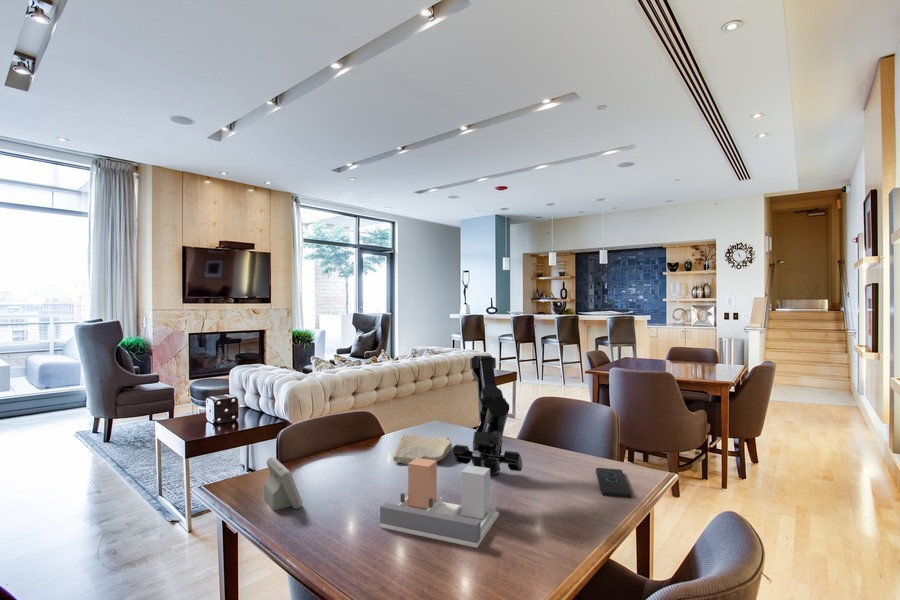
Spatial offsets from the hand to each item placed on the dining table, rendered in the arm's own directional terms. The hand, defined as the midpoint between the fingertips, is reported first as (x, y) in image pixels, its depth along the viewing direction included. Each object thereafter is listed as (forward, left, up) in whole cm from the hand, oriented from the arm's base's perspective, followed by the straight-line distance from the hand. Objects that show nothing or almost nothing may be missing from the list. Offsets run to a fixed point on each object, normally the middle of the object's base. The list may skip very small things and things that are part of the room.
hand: (479, 487), depth 124 cm
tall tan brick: (-8, -13, -5) cm, 16 cm away
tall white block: (+2, -2, -5) cm, 6 cm away
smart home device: (-7, +46, -7) cm, 47 cm away
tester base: (+1, -11, -7) cm, 13 cm away
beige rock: (-51, -1, -7) cm, 51 cm away
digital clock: (-23, -49, -7) cm, 54 cm away
